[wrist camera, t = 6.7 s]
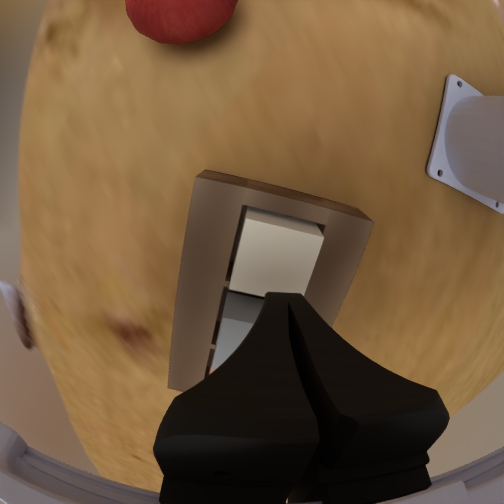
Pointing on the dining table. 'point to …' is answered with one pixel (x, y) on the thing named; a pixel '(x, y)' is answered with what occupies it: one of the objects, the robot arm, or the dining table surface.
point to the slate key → (235, 324)
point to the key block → (223, 256)
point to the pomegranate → (179, 18)
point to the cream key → (275, 253)
